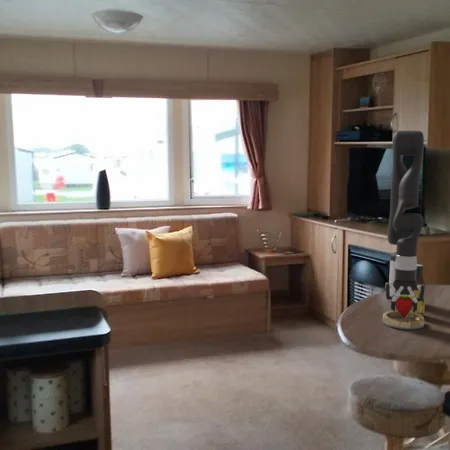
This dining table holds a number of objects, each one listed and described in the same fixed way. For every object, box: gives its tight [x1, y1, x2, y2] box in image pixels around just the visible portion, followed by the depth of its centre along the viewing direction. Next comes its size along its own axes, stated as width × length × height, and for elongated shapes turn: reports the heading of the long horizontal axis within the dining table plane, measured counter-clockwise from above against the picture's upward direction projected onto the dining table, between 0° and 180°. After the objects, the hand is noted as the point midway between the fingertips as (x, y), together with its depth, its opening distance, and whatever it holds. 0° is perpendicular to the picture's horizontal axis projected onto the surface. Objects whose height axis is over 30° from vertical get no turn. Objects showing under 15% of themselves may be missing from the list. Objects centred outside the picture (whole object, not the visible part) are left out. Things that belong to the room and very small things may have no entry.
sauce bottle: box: [409, 263, 426, 317], centre depth 227 cm, size 7×6×20 cm
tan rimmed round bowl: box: [381, 310, 425, 331], centre depth 217 cm, size 15×15×3 cm
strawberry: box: [395, 294, 413, 318], centre depth 216 cm, size 6×8×10 cm
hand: (403, 311), depth 217 cm, fingers closed on strawberry, 6 cm apart
